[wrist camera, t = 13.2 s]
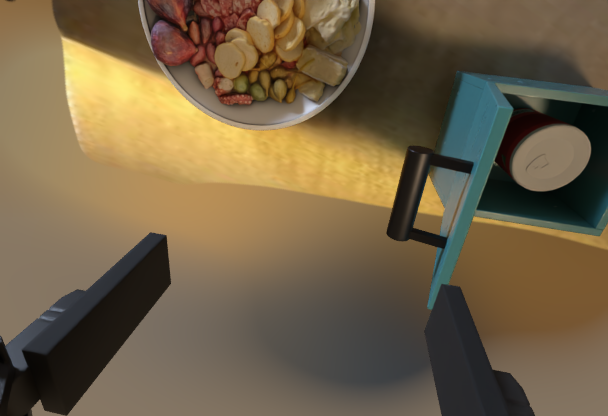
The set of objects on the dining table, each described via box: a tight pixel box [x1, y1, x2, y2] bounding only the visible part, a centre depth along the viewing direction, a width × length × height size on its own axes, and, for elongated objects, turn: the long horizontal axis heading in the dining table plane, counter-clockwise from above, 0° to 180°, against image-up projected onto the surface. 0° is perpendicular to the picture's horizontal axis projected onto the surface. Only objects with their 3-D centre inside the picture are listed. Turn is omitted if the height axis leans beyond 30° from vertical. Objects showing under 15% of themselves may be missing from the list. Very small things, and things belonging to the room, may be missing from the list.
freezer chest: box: [428, 71, 608, 236], centre depth 43 cm, size 17×15×14 cm
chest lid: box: [387, 82, 513, 310], centre depth 31 cm, size 18×15×5 cm
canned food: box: [494, 108, 591, 191], centre depth 43 cm, size 8×8×11 cm
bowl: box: [138, 0, 375, 130], centre depth 44 cm, size 30×30×8 cm
